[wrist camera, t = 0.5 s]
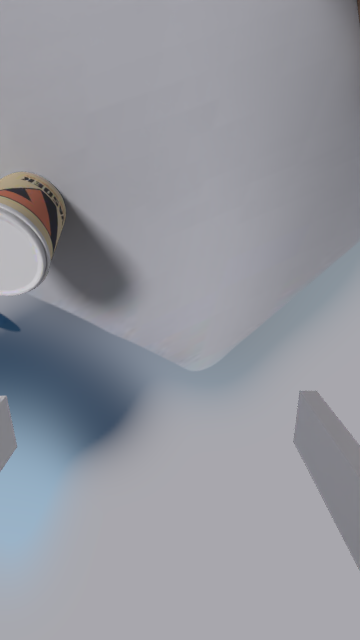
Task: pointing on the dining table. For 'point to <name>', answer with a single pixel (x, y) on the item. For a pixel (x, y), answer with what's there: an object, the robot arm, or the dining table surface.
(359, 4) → the cup holder board
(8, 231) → the coffee cup
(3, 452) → the robot arm
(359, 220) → the dining table surface
